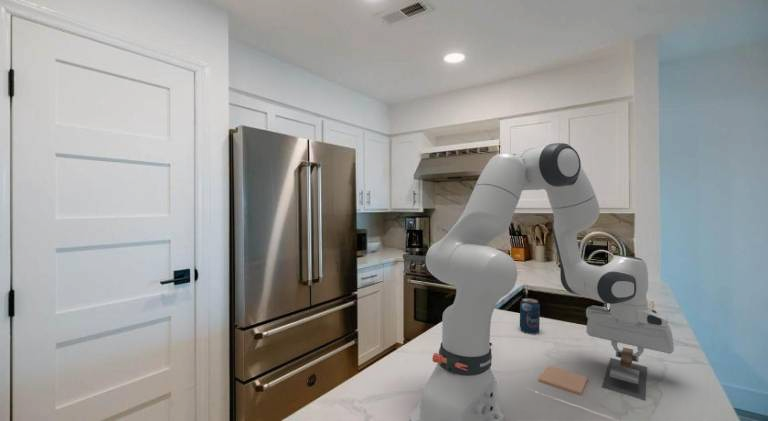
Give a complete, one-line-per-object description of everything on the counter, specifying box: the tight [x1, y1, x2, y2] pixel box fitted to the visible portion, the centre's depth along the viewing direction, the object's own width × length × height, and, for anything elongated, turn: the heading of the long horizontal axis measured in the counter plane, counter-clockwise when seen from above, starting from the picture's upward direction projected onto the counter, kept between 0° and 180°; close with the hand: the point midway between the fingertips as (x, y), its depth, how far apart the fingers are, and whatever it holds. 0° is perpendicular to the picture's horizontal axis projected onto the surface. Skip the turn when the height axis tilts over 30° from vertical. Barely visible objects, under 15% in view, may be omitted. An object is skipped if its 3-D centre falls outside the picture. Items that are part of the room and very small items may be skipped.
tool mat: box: [601, 357, 648, 401], centre depth 92 cm, size 22×9×1 cm, turn 140°
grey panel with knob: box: [610, 347, 639, 384], centre depth 92 cm, size 18×6×2 cm, turn 140°
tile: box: [537, 365, 589, 396], centre depth 90 cm, size 2×10×10 cm
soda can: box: [519, 297, 541, 335], centre depth 126 cm, size 7×7×12 cm
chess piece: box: [648, 298, 655, 310], centre depth 137 cm, size 5×5×10 cm
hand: (627, 358), depth 95 cm, fingers closed on grey panel with knob, 2 cm apart
